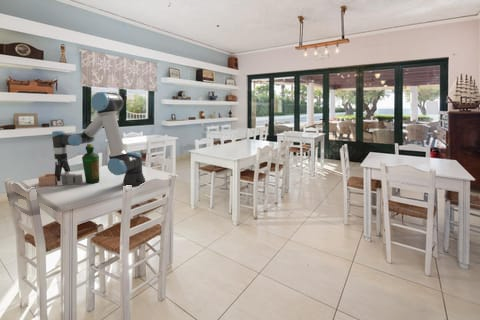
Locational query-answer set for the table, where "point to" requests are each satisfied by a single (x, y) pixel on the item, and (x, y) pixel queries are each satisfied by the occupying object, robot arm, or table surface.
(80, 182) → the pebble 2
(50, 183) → the terracotta bin
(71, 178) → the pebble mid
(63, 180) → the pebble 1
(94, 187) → the table surface
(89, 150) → the bottle
